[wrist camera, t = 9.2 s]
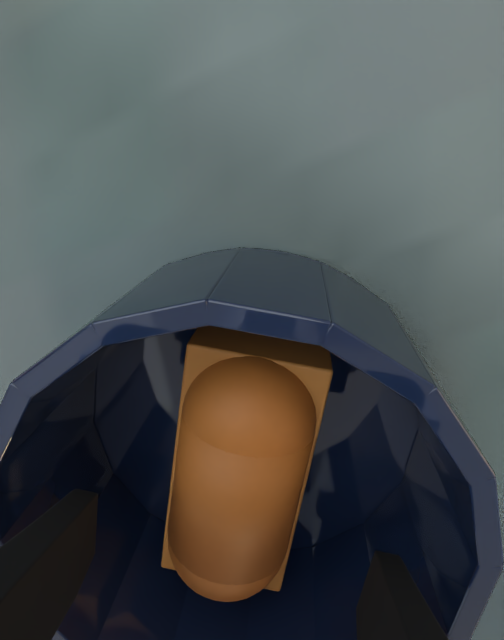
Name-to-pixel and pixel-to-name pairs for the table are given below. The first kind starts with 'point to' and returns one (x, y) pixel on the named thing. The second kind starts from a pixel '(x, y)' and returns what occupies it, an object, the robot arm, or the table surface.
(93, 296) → the table surface
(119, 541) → the pot
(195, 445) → the bread
